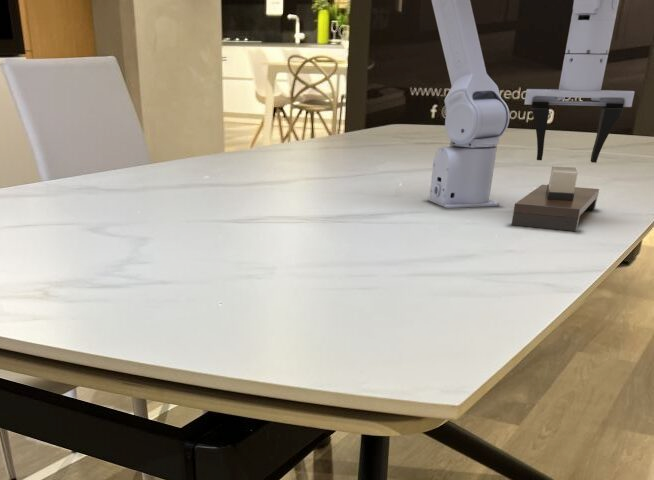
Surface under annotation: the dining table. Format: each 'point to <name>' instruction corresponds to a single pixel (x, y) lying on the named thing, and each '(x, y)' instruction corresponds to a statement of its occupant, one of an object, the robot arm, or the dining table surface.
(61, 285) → the dining table surface
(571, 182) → the beige cube on base
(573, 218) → the low wooden riser
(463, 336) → the dining table surface
